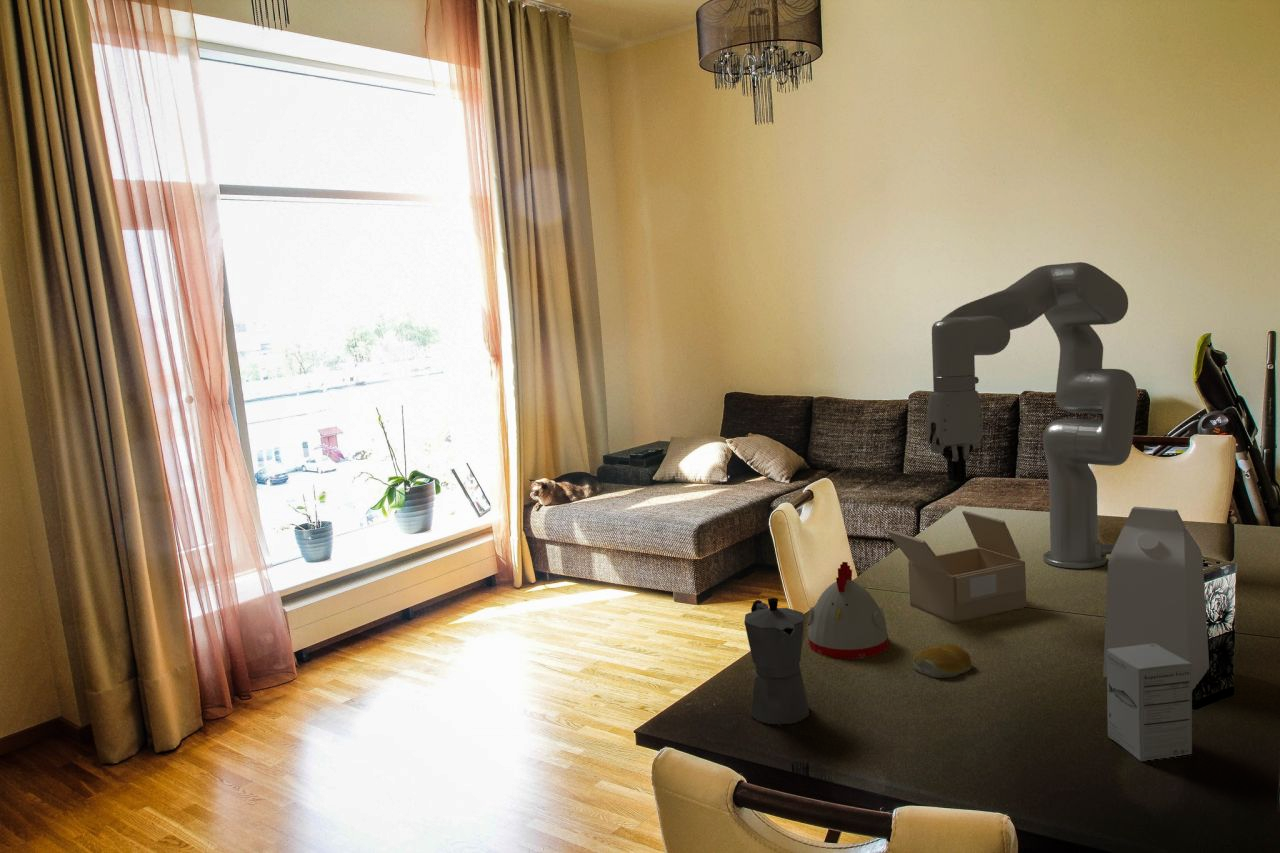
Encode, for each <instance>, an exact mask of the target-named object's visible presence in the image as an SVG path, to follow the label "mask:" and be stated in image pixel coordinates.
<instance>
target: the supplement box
mask: <svg viewBox="0 0 1280 853" xmlns="http://www.w3.org/2000/svg"><path fill="white" fill-rule="evenodd" d="M1106 686H1107V687H1106V691H1107V692H1106V694H1107V696H1106V699H1107V703H1106V704H1107V705H1106V706H1107V708H1106V710H1107V713H1106V714H1107V716H1106V717H1107V737H1108V738H1109V739H1111V740H1113V742H1115V743H1117V744H1118V745H1119V746H1120V747H1122V748H1123V749H1125V750H1126V751H1127V752H1128V753H1129V754H1131V755H1132V756H1133V757H1135V758H1136V759H1137V760H1138V761H1139V762H1148V761H1147V760H1151V761H1155V760H1154V759H1159V760H1163V759H1162V758H1167V759H1170V758H1169V757H1175V758H1177V757H1176V756H1182V755H1188V754H1192V755H1193V706H1192V705H1193V699H1192V698H1193V691H1192V664H1191V663H1190V662H1188V661H1186V660H1184V659H1183V658H1181V657H1179V656H1177V655H1175V654H1174V653H1172V652H1170V651H1168V650H1166V649H1164V648H1162V647H1161V646H1159V645H1157V644H1144V645H1136V646H1128V647H1120V648H1112V649H1107V677H1106ZM1160 758H1161V759H1160Z"/></svg>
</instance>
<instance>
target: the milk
mask: <svg viewBox="0 0 1280 853" xmlns="http://www.w3.org/2000/svg"><path fill="white" fill-rule="evenodd" d="M1203 560H1204V559H1203V553H1202V550H1201V548H1200V546H1199V545H1198V543H1197V542H1196V540H1195V539H1194V538H1193V536H1192V535H1191V533H1190V531H1189V530H1188V529H1187V527H1186V524H1185V523H1184V520H1183V519H1182V517H1181V515H1180V513H1179V511H1178V509H1170V508H1160V507H1159V508H1157V507H1146V506H1133V507H1132V508H1131V510H1130V512H1129V514H1128V517H1127V519H1126V521H1125V523H1124V526H1123V528H1122V530H1121V531H1120V533H1119V535H1118V538H1117V539H1116V542H1115V544H1114V548H1113V550H1112V552H1111V554H1109V558H1108V561H1107V562H1108V563H1107V571H1106V572H1107V574H1106V575H1107V577H1106V578H1107V579H1106V601H1105V622H1104V623H1105V624H1104V644H1103V645H1104V646H1103V667H1102V668H1103V671H1102V673H1103V674H1102V677H1103V678H1107V649H1112V648H1120V647H1128V646H1136V645H1144V644H1157V645H1159V646H1161V647H1162V648H1164V649H1166V650H1168V651H1170V652H1172V653H1174V654H1175V655H1177V656H1179V657H1181V658H1183V659H1184V660H1186V661H1188V662H1190V663H1191V664H1192V692H1193V691H1194V690H1195V688H1196V687H1197V686H1196V685H1198V684H1199V682H1200V681H1201V680H1202V679H1203V678H1204V676H1205V674H1207V672H1208V671H1207V670H1209V669H1210V659H1209V658H1210V657H1209V656H1210V655H1209V640H1208V624H1207V609H1206V608H1207V607H1206V591H1205V575H1204V574H1205V573H1204V572H1205V571H1204V561H1203ZM1193 689H1194V690H1193Z"/></svg>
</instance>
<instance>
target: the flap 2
mask: <svg viewBox="0 0 1280 853" xmlns="http://www.w3.org/2000/svg"><path fill="white" fill-rule="evenodd" d="M961 513H962V515H963V517H964V520H965V521H966V524H967V526H968V528H969V531H970V533H971V534H972V537H973V539H974V541H975V544H976V545H977V548H978V547H979V548H982V549H985V550H988V551H992V552H995V553H998V554H1002V555H1005V556H1008V557H1011V558H1015V559H1018V560H1021V559H1022V557H1021V555H1020V553H1019V550H1018V549H1017V545H1016V544H1015V542H1014V539H1013V538H1012V535H1011V533H1010V530H1009V529H1008V526H1007V524H1006V521H1005V520H1002V519H999V518H998V519H997V518H994V517H989V516H986V515H983V514H979V513H975V512H971V511H966V510H963V511H962V512H961Z"/></svg>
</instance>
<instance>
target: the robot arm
mask: <svg viewBox="0 0 1280 853" xmlns="http://www.w3.org/2000/svg"><path fill="white" fill-rule="evenodd" d="M1128 297H1129V296H1128V294H1127V291H1126V290H1125V288H1124V287H1123V286H1122V285H1121V283H1119V282H1118V281H1116V280H1115V279H1114V278H1112V277H1111V276H1110V275H1108V274H1107V273H1106V272H1104V271H1103V270H1101V269H1100V268H1098V267H1097V266H1095V265H1093V264H1091V263H1087V262H1082V261H1076V262H1069V263H1067V262H1066V263H1057V264H1055V263H1054V264H1047V265H1041V266H1038V267H1036V268H1034V269H1032V270H1031V271H1030V272H1029V273H1027V274H1026V275H1024V276H1022V277H1021V278H1020V279H1018V280H1017V281H1015V282H1014V283H1012V284H1010V285H1009V286H1008V287H1006V288H1005V289H1003V290H1000V291H997V292H993V293H991V294H989V295H985V296H984V297H981V298H979V299H975V300H972V301H969V302H967V303H966V304H962V305H960V306H958V307H957V308H955V309H954V310H952V311H951V312H949V313H948V314H946V315H945V316H944V317H942V318H941V320H938V321H935V322H934V323H933V324H932V326H931V353H932V358H931V359H932V381H933V382H932V383H933V385H932V386H933V392H932V393H930V394H929V397H928V402H927V407H926V408H927V409H926V421H925V423H926V425H925V435H926V443H928V444H929V445H931V446H930V452H932V453H934V454H935V453H936V454H941V455H942V457H943V459H944V460H945V461H947V463H946V464H947V465H946V466H947V478H948V481H950V482H956V483H961V482H966V481H967V461H968V459H969V457H970V454H971V453H972V452H973V450H975V449H978V448H980V447H981V446H982V443H981V440H982V439H983V436H984V422H983V421H984V420H983V414H982V411H983V410H982V405H981V400H980V395H979V391H978V390H976V385H977V384H978V383H979V382H980V380H979V379H980V378H979V377H978V376H976V368H975V367H976V365H975V362H976V360H975V356H993V355H996V354H998V353H1001V352H1002V351H1004V350H1005V348H1007V346H1008V345H1009V343H1010V341H1011V331H1012V330H1017V329H1021V328H1024V327H1027V326H1028V325H1031V324H1032V323H1033V322H1035V321H1036V320H1037V319H1038V318H1040V317H1041V316H1043V315H1044V317H1045V319H1046V320H1047V321H1048V323H1049V324H1050V326H1051V327H1052V329H1053V332H1054V333H1055V334H1056V337H1057V339H1058V343H1059V361H1058V370H1057V371H1058V372H1057V378H1056V380H1057V381H1056V387H1055V388H1056V389H1055V402H1056V405H1057V406H1058V408H1060V409H1061V410H1063V411H1065V412H1071V413H1081V414H1082V413H1083V414H1084V413H1086V414H1101V415H1103V419H1091V418H1090V419H1089V418H1070V417H1069V418H1068V417H1067V418H1066V417H1065V418H1064V417H1063V418H1059V419H1055V420H1053V421H1051V422H1049V423H1048V424H1047V425H1046V427H1045V429H1044V430H1043V433H1042V446H1043V447H1042V448H1043V451H1044V454H1045V459H1046V463H1047V464H1046V465H1047V473H1048V497H1049V501H1048V502H1049V532H1050V533H1049V536H1050V538H1049V539H1050V550H1048V551H1046V552H1044V553H1043V556H1042V557H1043V561H1044V563H1046V564H1049V565H1051V566H1054V567H1058V568H1066V569H1091V568H1099V567H1102V566H1103V565H1105V564H1106V563H1107V555H1111V552H1112V550H1113V548H1114V546H1115V544H1114V543H1113V544H1112V543H1111V544H1110V543H1109V544H1103V543H1101V541H1100V539H1099V530H1098V529H1099V527H1098V526H1099V522H1098V521H1099V520H1098V519H1099V517H1098V516H1099V515H1098V514H1099V513H1098V484H1097V479H1096V476H1095V474H1094V472H1093V471H1092V468H1090V466H1089V465H1098V466H1109V467H1110V466H1111V467H1113V466H1115V467H1116V466H1120V465H1122V464H1124V463H1125V462H1126V461H1127V460H1128V458H1129V457H1130V454H1131V450H1132V446H1133V440H1134V432H1135V424H1136V423H1135V421H1136V415H1137V414H1136V413H1137V406H1138V386H1137V383H1136V380H1135V378H1134V376H1133V375H1132V374H1131V373H1130V372H1128V371H1127V370H1125V369H1121V368H1120V369H1119V368H1103V360H1104V345H1103V344H1104V343H1103V342H1102V340H1101V338H1100V336H1099V334H1098V333H1097V332H1096V331H1095V330H1094V328H1093V327H1092V326H1096V325H1097V326H1098V325H1113V324H1117V323H1118V322H1120V321H1121V320H1123V319H1124V317H1125V316H1126V315H1127V312H1128V309H1129V298H1128Z"/></svg>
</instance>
